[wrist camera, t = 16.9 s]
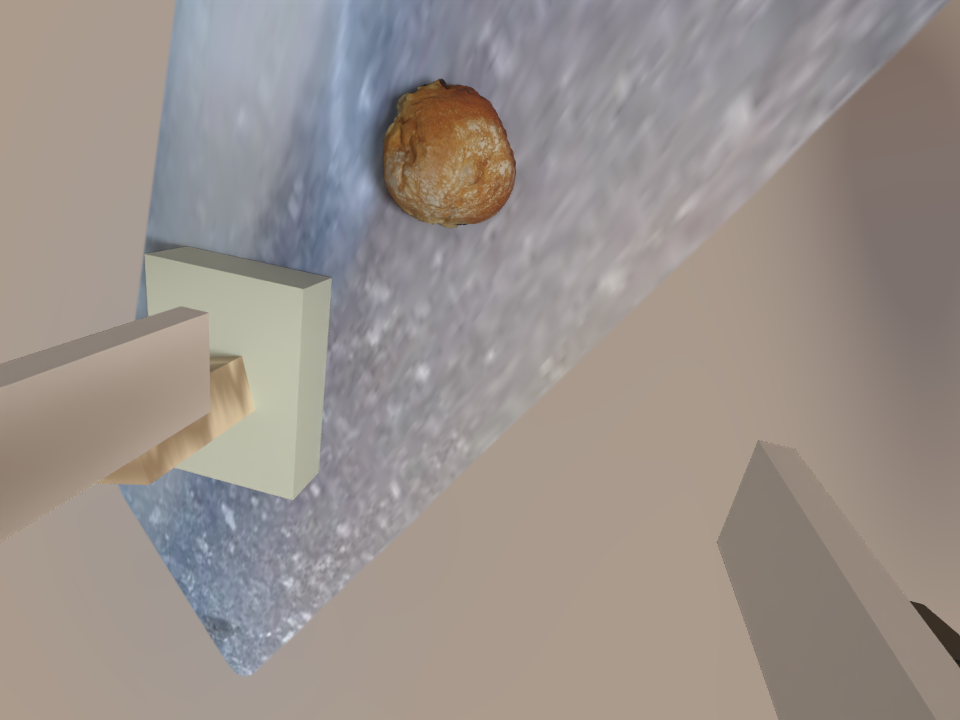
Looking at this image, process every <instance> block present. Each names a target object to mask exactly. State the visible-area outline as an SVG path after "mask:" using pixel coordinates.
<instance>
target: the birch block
mask: <svg viewBox="0 0 960 720" xmlns="http://www.w3.org/2000/svg"><path fill="white" fill-rule="evenodd" d="M254 411H255V408H254V404H253V400H252V395H251V391H250V387H249V383H248V379H247V375H246V371H245V366H244V362H243V358H242V356H227V357H210V412H209V413H208V414H206V415H204V416H203V417H201V418H200V419H198V420H196V421H195V422H193V423H192V424H190V425H188V426H187V427H185V428H184V429H182V430H180V431H179V432H177V433H176V434H174V435H172V436H171V437H169V438H168V439H166V440H164V441H163V442H161V443H160V444H158V445H156V446H155V447H153V448H151V449H150V450H148V451H147V452H145V453H143V454H142V455H140V456H139V457H137V458H135V459H134V460H132V461H131V462H129V463H127V464H126V465H124V466H123V467H121V468H119V469H118V470H116V471H115V472H113V473H111V474H110V475H108V476H107V477H105V478H103V479H102V480H100V481H99V482H97V483H105V484H106V483H107V484H138V485H150V484H151V483H153V482H154V481H156V480H157V479H158V478H160V477H161V476H163V475H164V474H165V473H167V472H168V471H170V470H171V469H173V468H174V467H175V466H177V465H178V464H180V463H181V462H183V461H184V460H185V459H187V458H188V457H190V456H191V455H193V454H194V453H195V452H197V451H198V450H200V449H201V448H202V447H204V446H205V445H207V444H208V443H210V442H211V441H212V440H214V439H215V438H217V437H218V436H220V435H221V434H222V433H224V432H225V431H227V430H228V429H229V428H231V427H232V426H234V425H235V424H237V423H238V422H239V421H241V420H242V419H244V418H245V417H247V416H248V415H249V414H251V413H252V412H254Z"/></svg>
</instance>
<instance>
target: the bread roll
mask: <svg viewBox="0 0 960 720" xmlns="http://www.w3.org/2000/svg"><path fill="white" fill-rule="evenodd" d="M396 108H397V111H398V114H397V117H395V119H394V122H393V123H392V124H391V125H390V127H389V128H388V130H387V131H386V133H385V135H384V136H385V139H384V150H383V175H384V180H385V184H386V186H387V189H388V191H389V193H390V195H391V196H392V198H393V199H394V201H395V202H396V203H397V204H398V206H399V207H400V208H401V209H402V210H403V211H404V212H406V213H407V214H409V215H411V216H413V217H414V218H416V219H418V220H419V221H423V222H426V223H431V224H435V223H438V224H439V225H441V226H443V227H446V228H457V225H467V224H477V223H481V222H483V221H485V220H487V219H489V218H491V217H492V216H494V215H495V214H496V213H497V212H499V210H500V209H501V208H502V207H503V206H504V205H505V203H506V202H507V200H508V198H509V196H510V194H511V192H512V189H513V186H514V182H515V176H516V169H515V167H516V161H515V159H514V156H513V151H512V149H511V148H510V144H509V142H508V140H507V133H506V130H505V129H504V128H503V125H502V122H501V120H500V118H499V117H498V114H497V112H496V110H495V109H494V108H493V107H492V104H491V103H490V102H489V101H488V100H487V99H486V98H484V97H482V96H480V95H479V94H478V92H476V91H475V90H474V89H473V88H471V87H468V86H462V85H447V84H446V83H445V81H444V80H443V79H438V80H437V81H435V82H433V83H431V84H429V85H424V86H421V87H418V91H416V92H414V93H409V92H407V93H405V94H404V95H402V97H401V98H400V99H399V100H398V104H397V106H396Z"/></svg>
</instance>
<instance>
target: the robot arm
mask: <svg viewBox="0 0 960 720" xmlns="http://www.w3.org/2000/svg"><path fill="white" fill-rule="evenodd" d="M209 412H210V352H209V313H208V312H204V311H200V310H195V309H191V308H187V307H182V306H180V307H177V308H174V309H171V310H167V311H164V312H161V313H158V314H155V315H152V316H149V317H146V318H142V319H139V320H136V321H133V322H130V323H127V324H124V325H121V326H118V327H114V328H111V329H108V330H105V331H102V332H99V333H96V334H93V335H89V336H86V337H83V338H80V339H77V340H74V341H71V342H67V343H64V344H61V345H58V346H55V347H52V348H49V349H46V350H43V351H39V352H36V353H33V354H30V355H27V356H24V357H21V358H17V359H14V360H11V361H8V362H5V363H2V364H0V543H1V542H2V541H4V540H6V539H7V538H9V537H10V536H12V535H14V534H15V533H17V532H18V531H20V530H21V529H23V528H25V527H26V526H28V525H29V524H31V523H32V522H34V521H36V520H38V519H39V518H41V517H42V516H44V515H46V514H47V513H49V512H50V511H52V510H54V509H55V508H57V507H58V506H60V505H62V504H63V503H65V502H66V501H68V500H70V499H71V498H73V497H74V496H76V495H78V494H79V493H81V492H83V491H84V490H86V489H87V488H89V487H91V486H92V485H94V484H95V483H97V482H99V481H100V480H102V479H103V478H105V477H107V476H108V475H110V474H111V473H113V472H115V471H116V470H118V469H119V468H121V467H123V466H124V465H126V464H127V463H129V462H131V461H132V460H134V459H135V458H137V457H139V456H140V455H142V454H143V453H145V452H147V451H148V450H150V449H151V448H153V447H155V446H156V445H158V444H160V443H161V442H163V441H164V440H166V439H168V438H169V437H171V436H172V435H174V434H176V433H177V432H179V431H180V430H182V429H184V428H185V427H187V426H188V425H190V424H192V423H193V422H195V421H196V420H198V419H200V418H201V417H203V416H204V415H206V414H208V413H209ZM717 544H718V547H719V550H720V552H721V555H722V558H723V561H724V564H725V567H726V570H727V573H728V575H729V578H730V581H731V584H732V587H733V590H734V592H735V596H736V598H737V601H738V604H739V607H740V610H741V613H742V616H743V619H744V621H745V624H746V627H747V630H748V633H749V636H750V639H751V641H752V644H753V647H754V650H755V653H756V656H757V659H758V662H759V665H760V668H761V670H762V673H763V676H764V679H765V682H766V685H767V688H768V690H769V693H770V696H771V699H772V702H773V705H774V708H775V711H776V714H777V716H778V719H779V720H960V636H959V634H958V633H956V632H955V631H954V630H953V629H952V628H950V627H949V626H948V625H947V624H946V623H945V622H944V621H942V620H941V619H940V618H939V617H938V616H936V615H935V614H934V613H933V612H932V611H931V610H929V609H928V608H927V607H926V606H925V605H923V604H920V603H916V602H912V601H909V600H908V599H907V597H906V596H905V594H904V593H903V592H902V590H901V589H900V588H899V586H898V585H897V584H896V583H895V581H894V580H893V579H892V577H891V576H890V575H889V573H888V572H887V571H886V569H885V568H884V567H883V565H882V564H881V563H880V561H879V560H878V559H877V557H876V556H875V555H874V553H873V552H872V551H871V549H870V548H869V547H868V545H867V544H866V543H865V541H864V540H863V539H862V537H861V536H860V535H859V533H858V532H857V531H856V529H855V528H854V527H853V525H852V524H851V523H850V521H849V520H848V519H847V517H846V516H845V515H844V513H843V512H842V511H841V509H840V508H839V507H838V506H837V504H836V503H835V501H834V500H833V499H832V497H831V496H830V495H829V494H828V492H827V491H826V489H825V488H824V487H823V485H822V484H821V483H820V482H819V480H818V479H817V477H816V476H815V475H814V474H813V472H812V471H811V470H810V468H809V467H808V466H807V464H806V463H805V461H804V460H803V459H802V458H801V456H800V455H799V454H798V452H797V451H796V450H795V449H793V448H789V447H785V446H780V445H776V444H772V443H768V442H763V441H759V440H758V442H757V444H756V447H755V449H754V452H753V454H752V457H751V459H750V462H749V465H748V467H747V469H746V472H745V474H744V477H743V479H742V481H741V484H740V487H739V489H738V491H737V494H736V496H735V499H734V501H733V504H732V506H731V509H730V511H729V514H728V516H727V519H726V521H725V524H724V526H723V529H722V531H721V533H720V536H719V538H718V541H717Z"/></svg>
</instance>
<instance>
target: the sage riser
mask: <svg viewBox="0 0 960 720" xmlns="http://www.w3.org/2000/svg"><path fill="white" fill-rule="evenodd" d="M145 271H146V288H147V305H148V317H149V316H152V315H155V314H158V313H161V312H164V311H167V310H171V309H174V308H177V307H180V306H182V307H187V308H191V309H195V310H200V311H204V312H208V313H209V352H210V357H227V356H242V358H243V362H244V366H245V371H246V375H247V379H248V383H249V387H250V391H251V395H252V400H253V404H254V408H255V411H254V412H252V413H251V414H249V415H248V416H247V417H245V418H244V419H242V420H241V421H239V422H238V423H237V424H235V425H234V426H232V427H231V428H229V429H228V430H227V431H225V432H224V433H222V434H221V435H220V436H218V437H217V438H215V439H214V440H212V441H211V442H210V443H208V444H207V445H205V446H204V447H202V448H201V449H200V450H198V451H197V452H195V453H194V454H193V455H191V456H190V457H188V458H187V459H185V460H184V461H183V462H181V463H180V464H178V465H177V466H175V467H174V468H178V469H181V470H185V471H189V472H192V473H196V474H200V475H203V476H207V477H210V478H214V479H218V480H221V481H225V482H229V483H232V484H236V485H240V486H243V487H247V488H251V489H254V490H258V491H262V492H265V493H269V494H272V495H276V496H280V497H283V498H287V499H291V500H294V498H295V497H296V496H297V495H298V494H299V493H300V492H301V491H302V490H303V489H304V487H305V486H306V485H307V484H308V483H309V482H310V481H311V480H312V479H313V478H314V477H315V475H316V474H317V473H318V472H319V460H320V446H321V431H322V417H323V402H324V388H325V373H326V359H327V344H328V330H329V315H330V301H331V286H332V278H331V277H326V276H322V275H317V274H312V273H308V272H303V271H299V270H294V269H289V268H285V267H280V266H275V265H271V264H266V263H262V262H257V261H252V260H248V259H243V258H239V257H234V256H229V255H225V254H220V253H215V252H211V251H206V250H202V249H197V248H192V247H188V246H187V247H181V248H176V249H170V250H164V251H159V252H153V253H147V254H145Z"/></svg>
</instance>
